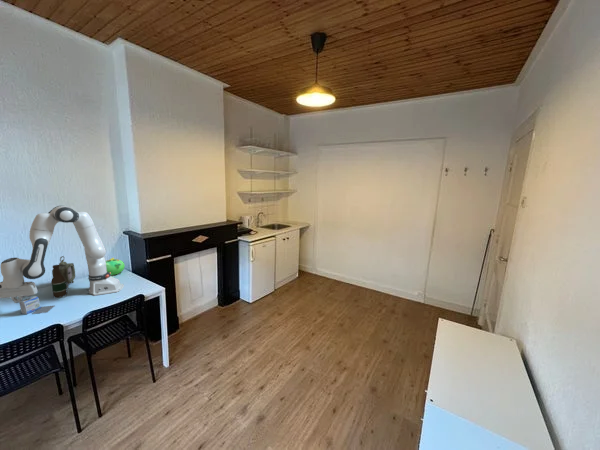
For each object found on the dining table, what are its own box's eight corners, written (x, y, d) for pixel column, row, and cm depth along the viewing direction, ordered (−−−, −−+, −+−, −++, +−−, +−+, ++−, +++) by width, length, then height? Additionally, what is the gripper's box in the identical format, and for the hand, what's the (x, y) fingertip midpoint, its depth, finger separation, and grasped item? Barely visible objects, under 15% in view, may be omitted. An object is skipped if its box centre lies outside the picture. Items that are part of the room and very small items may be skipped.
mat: (55, 305, 177) (55, 305, 177) (47, 312, 168) (47, 312, 168) (40, 307, 174) (40, 306, 174) (31, 314, 166) (31, 313, 166)
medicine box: (26, 314, 165) (23, 302, 163) (21, 313, 166) (18, 301, 164) (41, 308, 173) (38, 296, 171) (36, 307, 174) (33, 295, 172)
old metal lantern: (69, 288, 201) (64, 259, 196) (54, 290, 198) (49, 260, 193) (76, 281, 214) (72, 253, 209) (62, 282, 211) (58, 254, 206)
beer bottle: (55, 298, 186) (50, 268, 181) (52, 295, 190) (46, 265, 185) (69, 294, 192) (64, 264, 187) (65, 292, 196) (60, 262, 191)
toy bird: (126, 269, 243) (124, 255, 240) (124, 276, 228) (122, 260, 225) (102, 272, 234) (100, 257, 231) (99, 279, 219) (97, 263, 216)
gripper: (37, 279, 170) (41, 298, 172) (-3, 282, 163) (2, 301, 166) (31, 283, 164) (35, 302, 167) (-11, 286, 158) (-6, 306, 160)
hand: (18, 302), depth 166 cm, fingers closed
